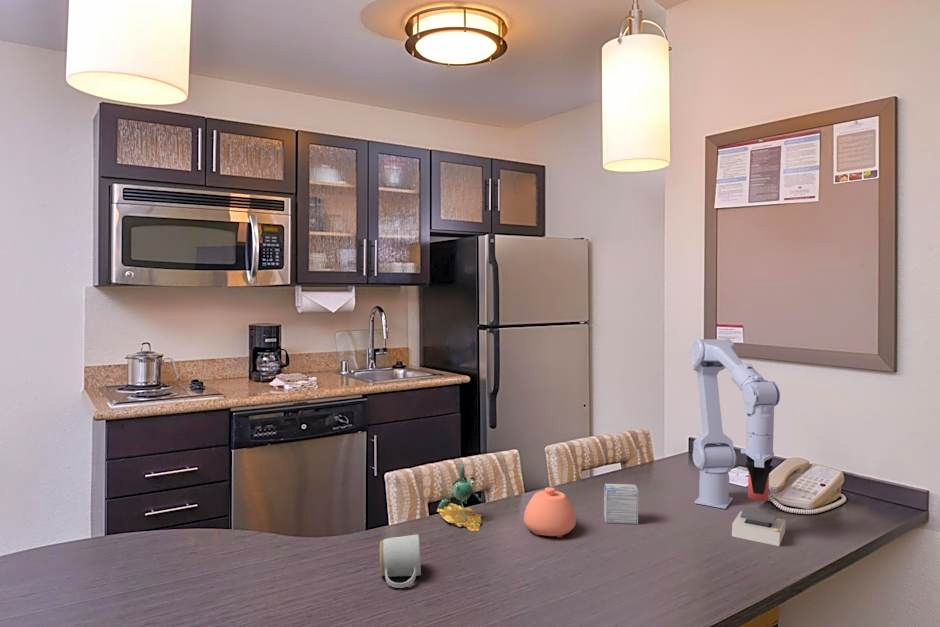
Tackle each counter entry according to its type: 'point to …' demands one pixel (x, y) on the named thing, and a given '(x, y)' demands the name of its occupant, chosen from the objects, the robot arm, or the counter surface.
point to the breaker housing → (759, 531)
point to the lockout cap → (758, 496)
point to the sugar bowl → (549, 513)
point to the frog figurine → (458, 513)
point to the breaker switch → (759, 516)
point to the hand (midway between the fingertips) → (758, 490)
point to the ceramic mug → (400, 559)
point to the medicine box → (621, 503)
